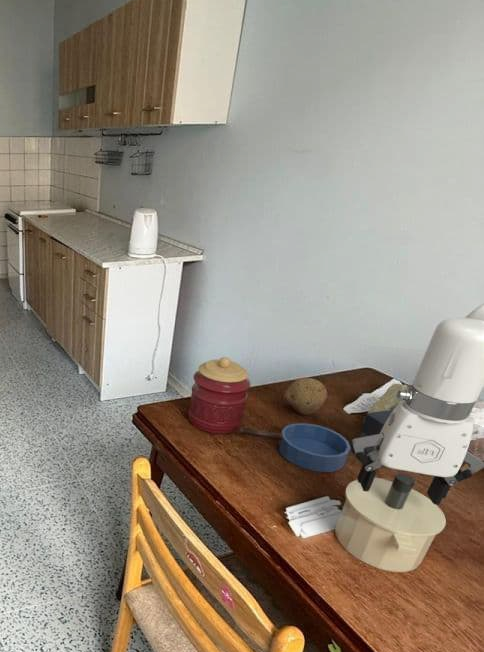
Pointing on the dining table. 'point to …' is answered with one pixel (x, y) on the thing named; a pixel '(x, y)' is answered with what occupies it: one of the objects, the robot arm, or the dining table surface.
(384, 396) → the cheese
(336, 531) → the pot
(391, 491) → the lid
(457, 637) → the dining table surface
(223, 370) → the kitchen canister
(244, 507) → the dining table surface
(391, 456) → the robot arm
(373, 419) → the small box
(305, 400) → the brown lumpy rounded lump
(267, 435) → the pan handle
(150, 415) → the dining table surface
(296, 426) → the pan
